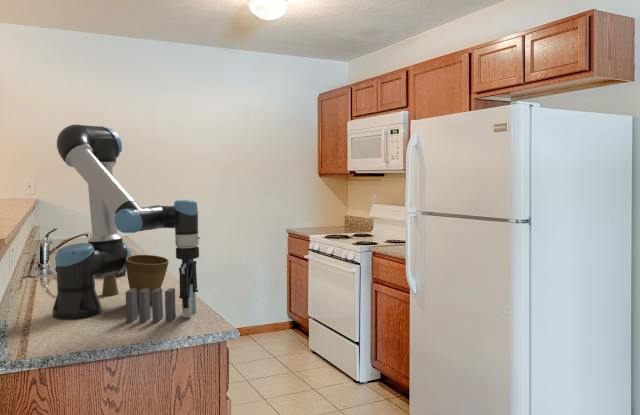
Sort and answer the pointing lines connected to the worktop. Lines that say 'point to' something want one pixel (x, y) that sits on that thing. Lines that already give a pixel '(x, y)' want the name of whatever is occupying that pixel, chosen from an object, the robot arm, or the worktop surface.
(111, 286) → the cork
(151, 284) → the plant pot
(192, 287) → the domino
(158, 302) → the domino
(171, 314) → the domino
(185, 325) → the worktop surface
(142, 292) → the domino
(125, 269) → the cupcake
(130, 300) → the domino
